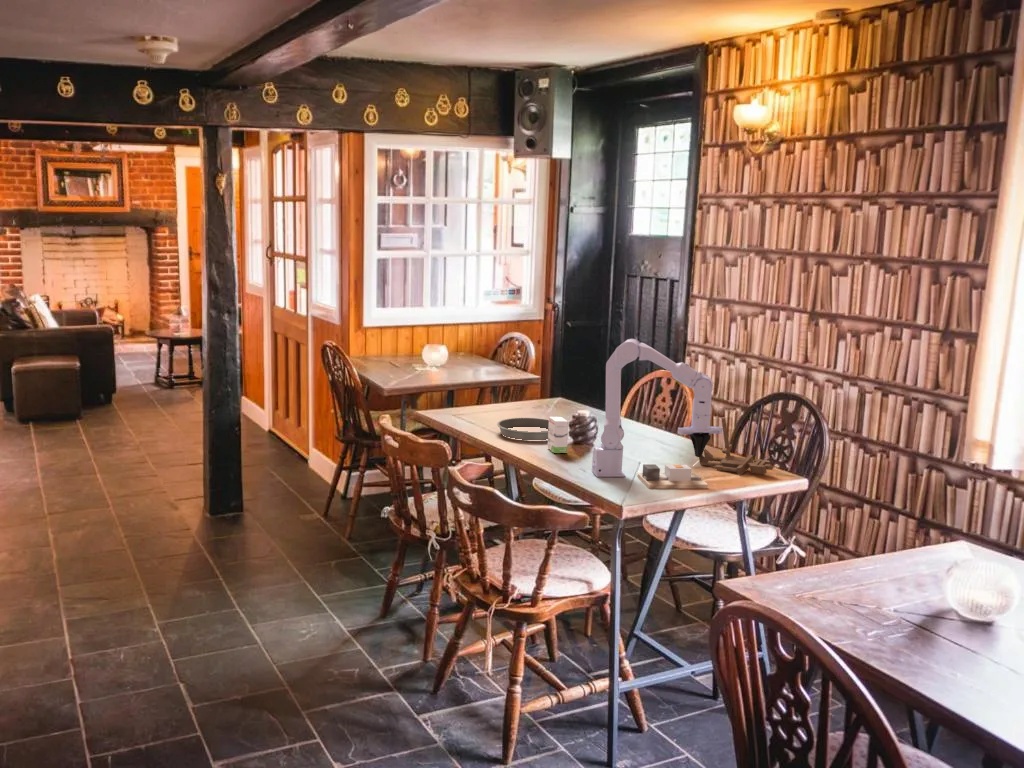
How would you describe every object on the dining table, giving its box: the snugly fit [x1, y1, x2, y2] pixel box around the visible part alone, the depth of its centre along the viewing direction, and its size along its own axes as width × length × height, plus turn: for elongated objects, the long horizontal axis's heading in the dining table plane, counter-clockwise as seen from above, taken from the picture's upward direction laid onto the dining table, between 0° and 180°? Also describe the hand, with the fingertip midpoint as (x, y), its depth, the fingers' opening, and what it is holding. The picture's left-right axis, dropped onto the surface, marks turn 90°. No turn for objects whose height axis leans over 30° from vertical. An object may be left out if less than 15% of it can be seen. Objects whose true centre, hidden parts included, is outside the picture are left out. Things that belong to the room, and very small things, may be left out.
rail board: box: [637, 463, 709, 489], centre depth 299 cm, size 19×13×5 cm
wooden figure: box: [692, 416, 774, 475], centre depth 316 cm, size 14×18×25 cm
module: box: [664, 464, 692, 481], centre depth 299 cm, size 7×5×4 cm
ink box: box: [547, 416, 569, 454], centre depth 334 cm, size 9×5×12 cm, turn 15°
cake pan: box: [496, 417, 549, 440], centre depth 358 cm, size 25×25×4 cm
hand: (698, 456), depth 299 cm, fingers closed
